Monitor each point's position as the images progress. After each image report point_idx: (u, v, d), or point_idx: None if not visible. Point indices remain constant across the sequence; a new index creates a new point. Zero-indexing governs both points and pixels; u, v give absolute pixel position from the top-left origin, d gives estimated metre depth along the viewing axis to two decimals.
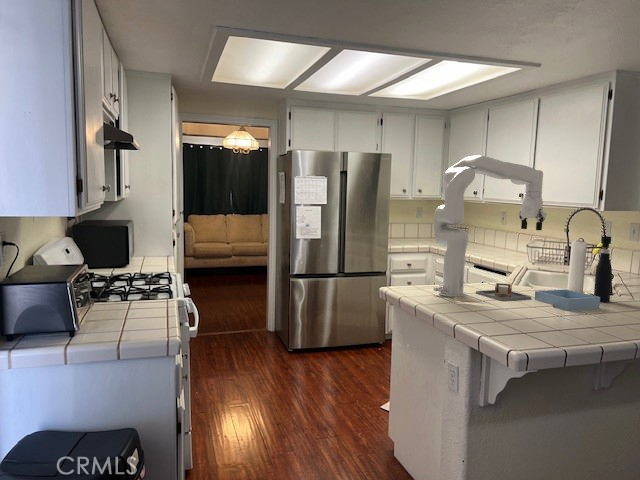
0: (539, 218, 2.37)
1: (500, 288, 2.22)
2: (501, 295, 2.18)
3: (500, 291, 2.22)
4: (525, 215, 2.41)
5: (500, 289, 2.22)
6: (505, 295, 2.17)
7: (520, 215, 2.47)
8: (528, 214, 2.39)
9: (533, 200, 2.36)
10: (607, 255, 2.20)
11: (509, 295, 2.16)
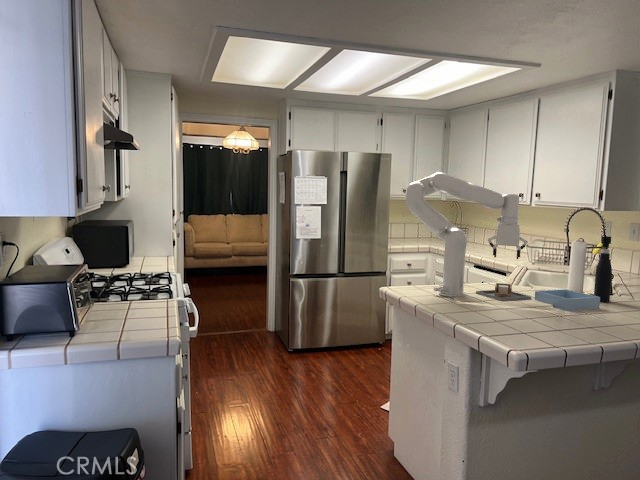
0: None
1: (500, 288, 2.22)
2: (501, 295, 2.18)
3: (500, 291, 2.22)
4: (503, 243, 2.20)
5: (500, 289, 2.22)
6: (505, 295, 2.17)
7: (490, 242, 2.24)
8: (508, 242, 2.19)
9: (515, 227, 2.18)
10: (607, 255, 2.20)
11: (509, 295, 2.16)
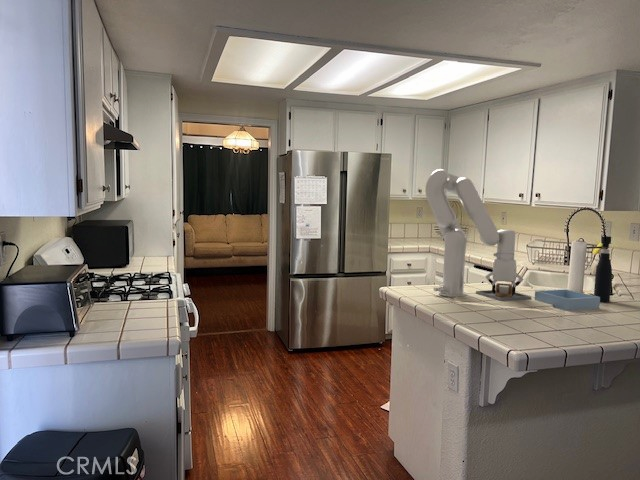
0: None
1: (501, 288, 2.22)
2: (502, 295, 2.18)
3: (501, 291, 2.22)
4: (500, 278, 2.20)
5: (501, 289, 2.22)
6: (506, 295, 2.17)
7: (488, 279, 2.24)
8: (505, 278, 2.20)
9: (512, 262, 2.18)
10: (607, 255, 2.20)
11: (510, 295, 2.16)
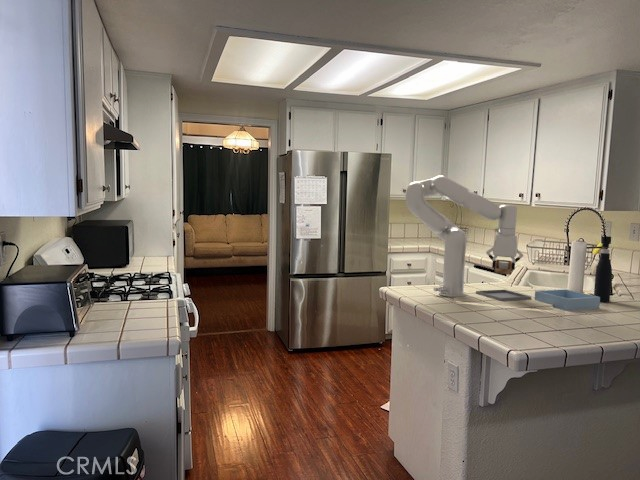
0: None
1: (500, 264, 2.21)
2: (501, 270, 2.17)
3: (500, 267, 2.22)
4: (500, 254, 2.19)
5: (500, 265, 2.21)
6: (505, 270, 2.16)
7: (489, 254, 2.24)
8: (505, 253, 2.19)
9: (513, 238, 2.17)
10: (607, 255, 2.20)
11: (509, 270, 2.16)
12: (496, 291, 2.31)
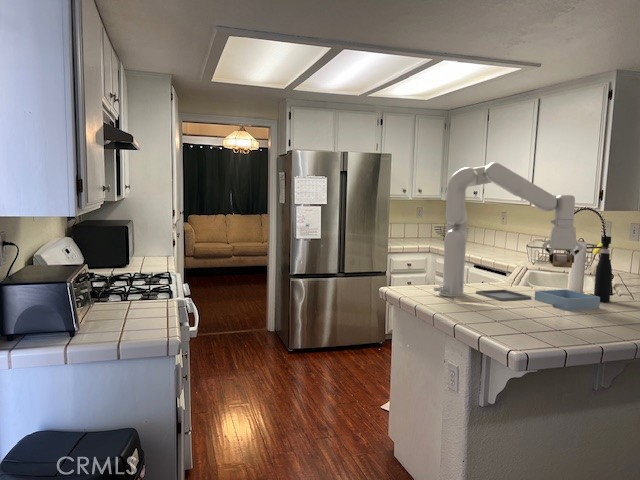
0: (570, 250, 2.11)
1: (558, 257, 2.11)
2: (561, 264, 2.06)
3: (558, 260, 2.11)
4: (559, 246, 2.09)
5: (558, 258, 2.11)
6: (565, 263, 2.06)
7: (545, 248, 2.13)
8: (564, 245, 2.08)
9: (571, 229, 2.07)
10: (607, 255, 2.20)
11: (569, 263, 2.05)
12: (496, 291, 2.31)
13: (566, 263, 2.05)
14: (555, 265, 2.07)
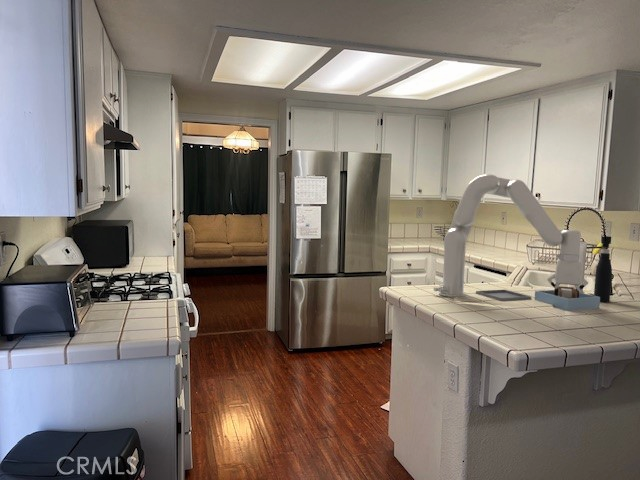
0: (575, 285, 2.11)
1: (563, 292, 2.11)
2: None
3: (563, 295, 2.11)
4: (564, 281, 2.09)
5: (563, 293, 2.11)
6: None
7: (551, 282, 2.13)
8: (569, 280, 2.08)
9: (577, 265, 2.07)
10: (607, 255, 2.20)
11: None
12: (496, 291, 2.31)
13: None
14: None
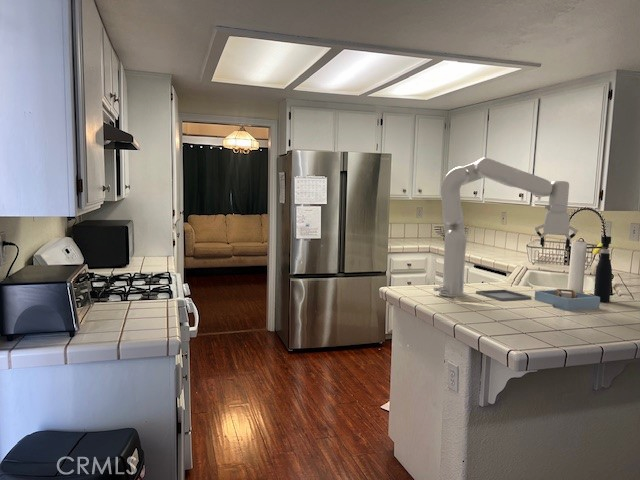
0: None
1: (563, 294, 2.11)
2: None
3: None
4: (552, 232, 2.12)
5: (563, 295, 2.11)
6: None
7: (537, 231, 2.16)
8: (557, 231, 2.11)
9: (565, 215, 2.10)
10: (607, 255, 2.20)
11: None
12: (496, 291, 2.31)
13: None
14: None
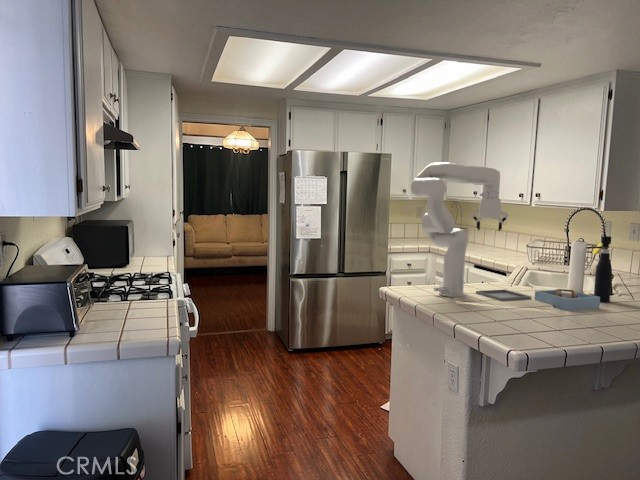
0: None
1: (563, 294, 2.11)
2: None
3: None
4: (486, 216, 2.37)
5: (563, 295, 2.11)
6: None
7: None
8: (490, 215, 2.36)
9: (497, 201, 2.35)
10: (607, 255, 2.20)
11: None
12: (496, 291, 2.31)
13: None
14: None
